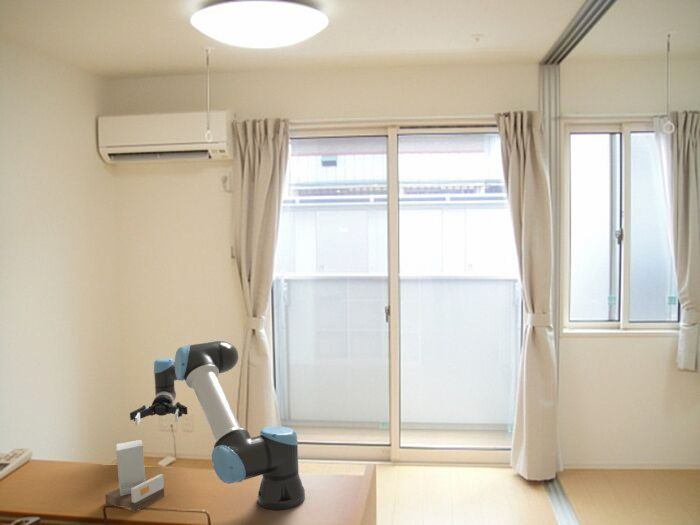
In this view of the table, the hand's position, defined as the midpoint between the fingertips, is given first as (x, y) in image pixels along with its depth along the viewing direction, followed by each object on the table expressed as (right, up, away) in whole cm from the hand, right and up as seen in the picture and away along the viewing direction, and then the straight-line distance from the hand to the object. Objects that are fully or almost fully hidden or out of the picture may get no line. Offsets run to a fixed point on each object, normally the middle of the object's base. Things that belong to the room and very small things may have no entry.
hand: (156, 419), depth 208 cm
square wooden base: (-2, -22, -16) cm, 27 cm away
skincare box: (-3, -19, -15) cm, 25 cm away
